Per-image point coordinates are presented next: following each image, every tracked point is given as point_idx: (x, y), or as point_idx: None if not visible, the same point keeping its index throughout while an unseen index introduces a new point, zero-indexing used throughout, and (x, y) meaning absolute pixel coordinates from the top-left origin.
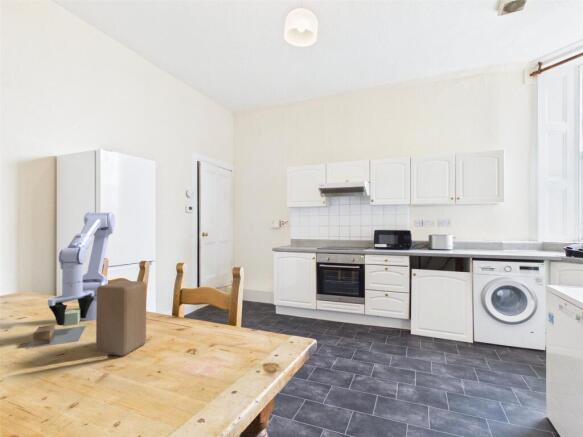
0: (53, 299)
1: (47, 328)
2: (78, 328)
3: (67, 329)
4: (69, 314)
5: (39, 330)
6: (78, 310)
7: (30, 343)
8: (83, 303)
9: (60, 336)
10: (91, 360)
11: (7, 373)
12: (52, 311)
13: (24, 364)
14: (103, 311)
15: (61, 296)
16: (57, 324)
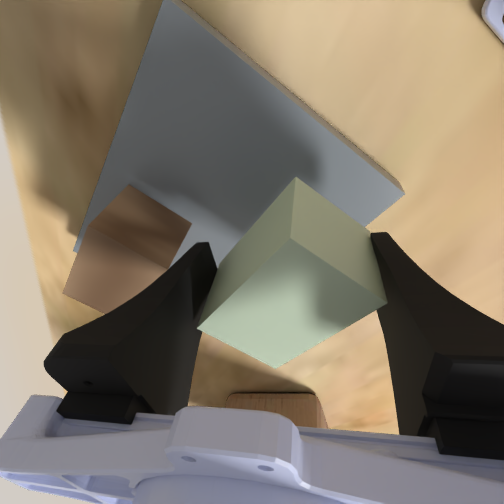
0: (40, 480)
1: (124, 291)
2: (341, 203)
3: (299, 156)
4: (233, 339)
5: (88, 287)
6: (314, 342)
7: (91, 208)
8: (400, 370)
9: (213, 240)
10: (205, 400)
11: (52, 325)
12: (118, 312)
13: (84, 315)
14: None
15: (130, 481)
16: (194, 246)
